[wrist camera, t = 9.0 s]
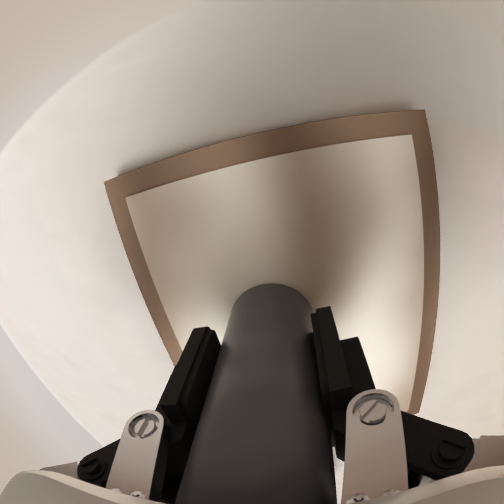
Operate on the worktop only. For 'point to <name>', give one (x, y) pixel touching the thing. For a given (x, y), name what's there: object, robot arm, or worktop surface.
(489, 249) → the worktop surface
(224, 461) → the grey tall cylinder
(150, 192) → the board
